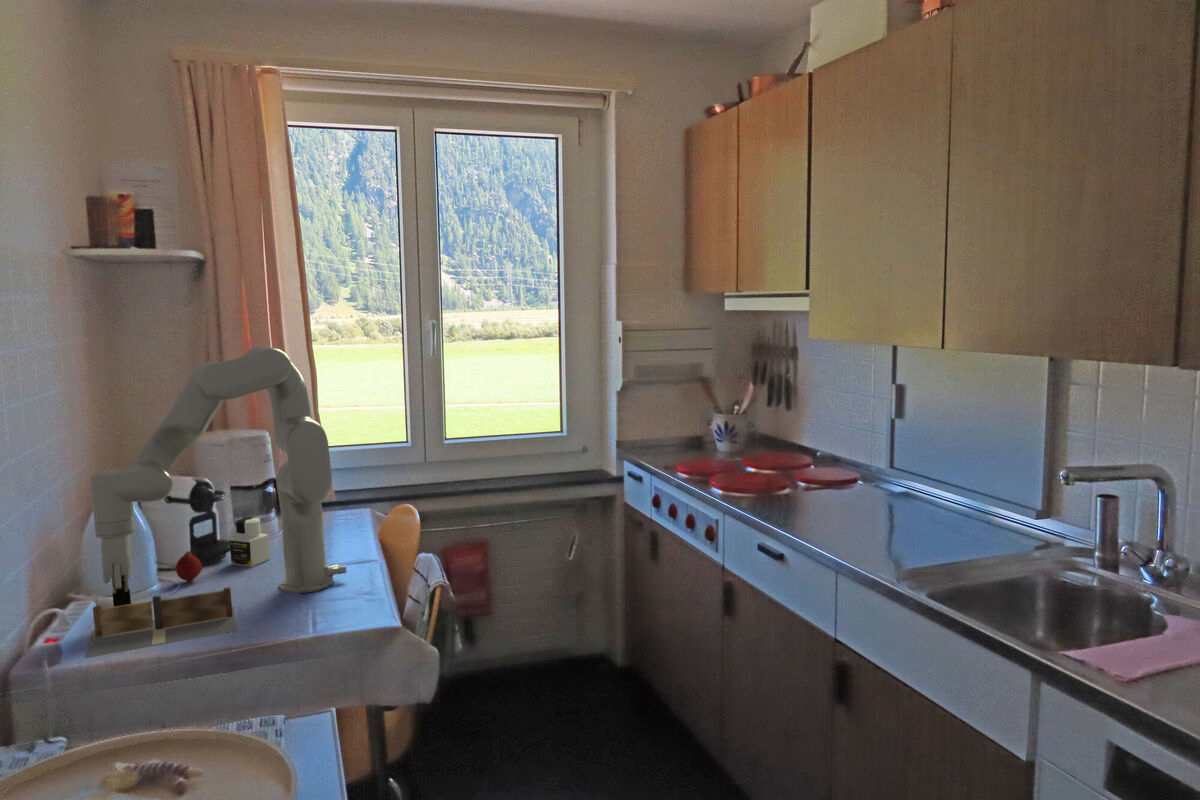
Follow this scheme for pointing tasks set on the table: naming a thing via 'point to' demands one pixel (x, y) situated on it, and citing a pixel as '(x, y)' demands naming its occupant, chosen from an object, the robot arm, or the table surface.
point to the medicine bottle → (249, 543)
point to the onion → (188, 567)
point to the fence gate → (122, 618)
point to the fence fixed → (192, 608)
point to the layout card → (158, 636)
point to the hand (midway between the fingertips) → (122, 608)
